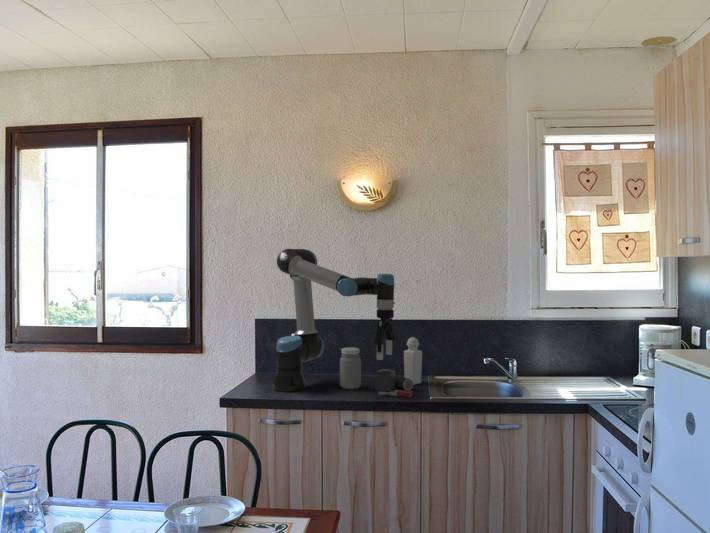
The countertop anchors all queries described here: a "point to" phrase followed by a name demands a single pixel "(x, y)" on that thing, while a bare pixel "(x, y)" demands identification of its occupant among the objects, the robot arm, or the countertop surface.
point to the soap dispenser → (413, 361)
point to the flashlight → (403, 383)
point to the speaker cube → (385, 380)
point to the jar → (350, 368)
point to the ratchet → (396, 393)
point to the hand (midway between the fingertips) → (384, 357)
